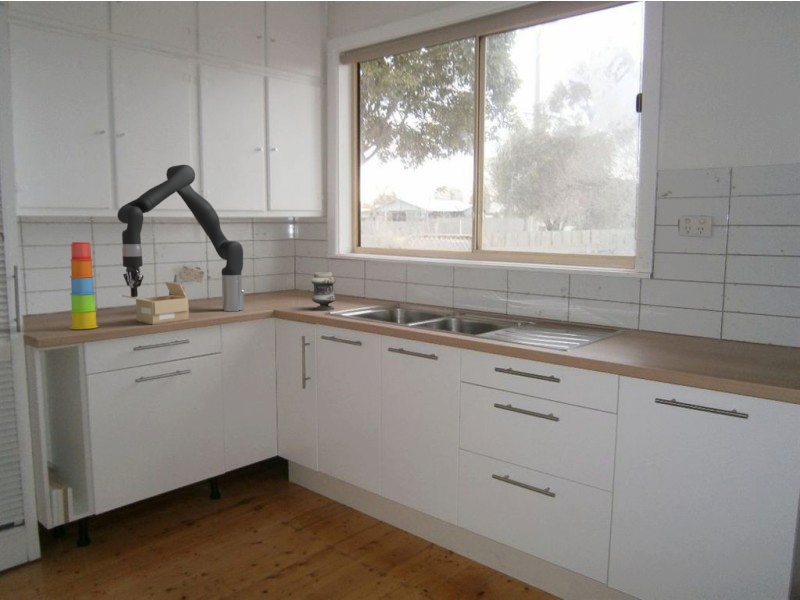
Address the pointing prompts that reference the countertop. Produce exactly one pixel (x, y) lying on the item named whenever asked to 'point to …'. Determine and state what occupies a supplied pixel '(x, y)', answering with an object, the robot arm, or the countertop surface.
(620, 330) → the countertop surface
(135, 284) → the robot arm
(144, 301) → the carton
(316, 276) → the apothecary jar
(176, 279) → the squeeze bottle
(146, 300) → the flap
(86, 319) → the stacking cups
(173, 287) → the flap
